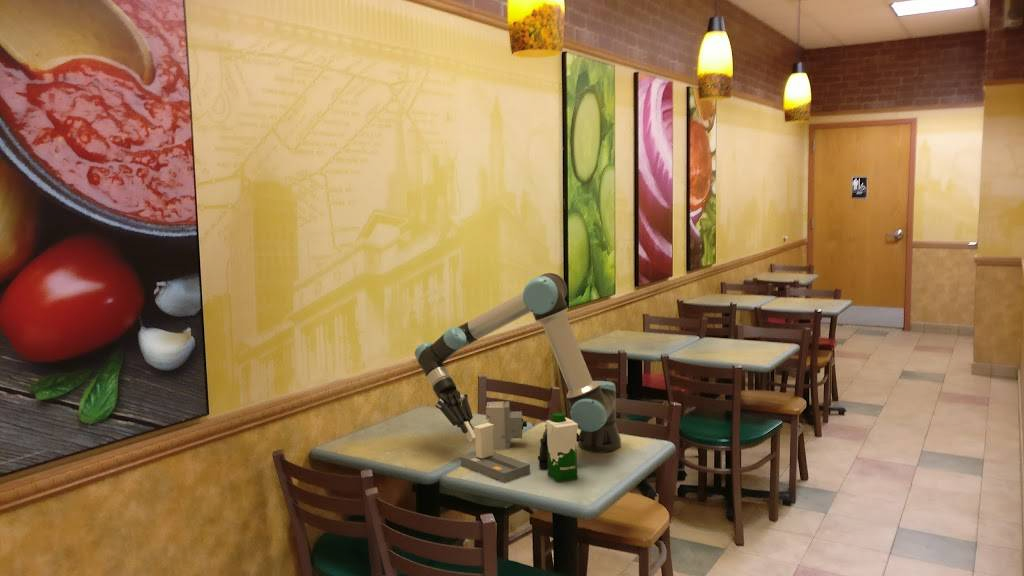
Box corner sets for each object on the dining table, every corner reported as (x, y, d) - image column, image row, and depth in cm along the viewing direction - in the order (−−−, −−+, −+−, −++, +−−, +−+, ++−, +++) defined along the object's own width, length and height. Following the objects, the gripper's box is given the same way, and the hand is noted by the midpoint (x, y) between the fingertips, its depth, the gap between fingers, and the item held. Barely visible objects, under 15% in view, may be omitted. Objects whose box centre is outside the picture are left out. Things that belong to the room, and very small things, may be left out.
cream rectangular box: (474, 456, 264) (474, 426, 263) (488, 452, 268) (488, 422, 267) (480, 459, 262) (479, 428, 261) (494, 454, 266) (493, 424, 265)
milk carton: (568, 470, 260) (567, 410, 257) (581, 479, 251) (581, 417, 249) (544, 474, 256) (542, 414, 254) (556, 484, 248) (555, 421, 245)
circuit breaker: (527, 448, 282) (526, 407, 280) (486, 449, 282) (485, 407, 280) (527, 441, 289) (526, 401, 287) (487, 442, 290) (486, 401, 288)
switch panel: (460, 465, 267) (460, 456, 266) (486, 457, 274) (486, 448, 273) (504, 482, 250) (504, 473, 250) (530, 473, 257) (529, 464, 257)
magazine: (528, 462, 263) (547, 420, 262) (564, 476, 266) (583, 435, 265) (530, 466, 260) (549, 424, 259) (567, 480, 262) (585, 438, 261)
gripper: (452, 385, 286) (483, 441, 276) (422, 392, 277) (453, 450, 267) (461, 373, 281) (493, 429, 271) (430, 380, 273) (462, 438, 262)
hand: (473, 439), depth 269 cm, fingers closed
